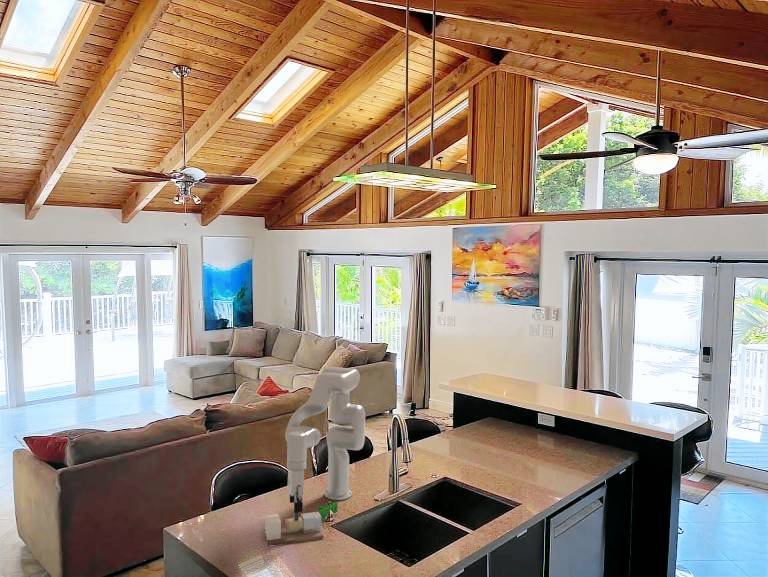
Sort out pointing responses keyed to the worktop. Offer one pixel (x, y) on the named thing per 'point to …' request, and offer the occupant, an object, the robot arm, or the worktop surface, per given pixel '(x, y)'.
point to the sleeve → (311, 522)
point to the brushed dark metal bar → (294, 522)
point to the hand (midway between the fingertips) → (296, 507)
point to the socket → (272, 527)
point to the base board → (294, 536)
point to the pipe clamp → (327, 509)
